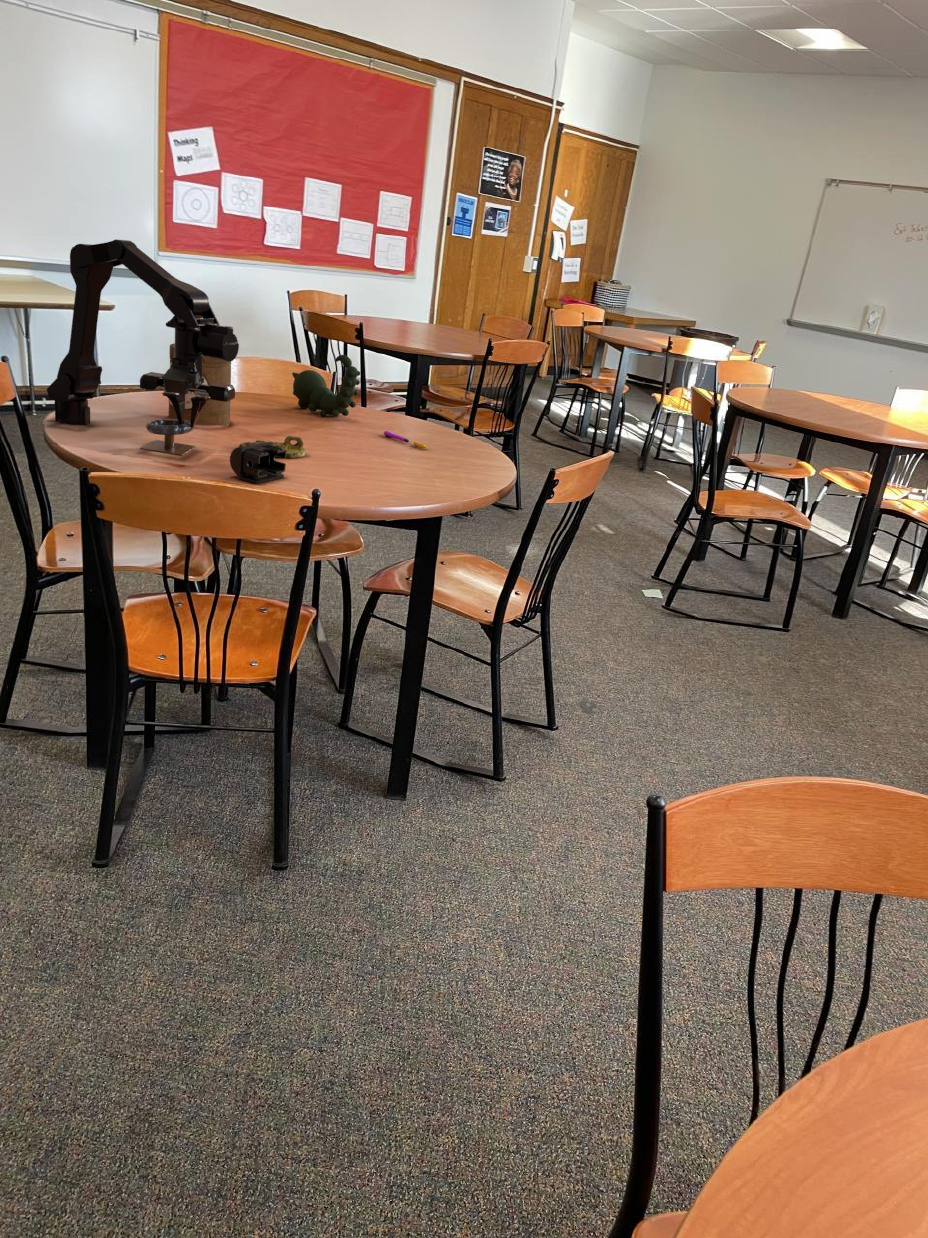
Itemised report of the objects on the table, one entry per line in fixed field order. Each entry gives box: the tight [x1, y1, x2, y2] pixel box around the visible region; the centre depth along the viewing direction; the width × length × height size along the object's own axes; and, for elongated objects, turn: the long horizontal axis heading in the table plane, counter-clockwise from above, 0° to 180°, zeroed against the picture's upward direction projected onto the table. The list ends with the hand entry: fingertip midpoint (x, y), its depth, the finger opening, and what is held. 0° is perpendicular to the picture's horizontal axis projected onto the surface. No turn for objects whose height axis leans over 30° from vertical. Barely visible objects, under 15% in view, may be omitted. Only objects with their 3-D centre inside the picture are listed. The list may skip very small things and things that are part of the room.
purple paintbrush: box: [383, 430, 429, 450], centre depth 239 cm, size 3×1×16 cm
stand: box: [140, 417, 197, 457], centre depth 194 cm, size 9×9×7 cm
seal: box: [238, 435, 306, 459], centre depth 207 cm, size 9×5×15 cm
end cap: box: [229, 441, 287, 485], centre depth 186 cm, size 10×7×7 cm
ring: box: [145, 418, 194, 436], centre depth 193 cm, size 10×10×2 cm
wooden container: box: [168, 343, 232, 427], centre depth 222 cm, size 15×15×22 cm
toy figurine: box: [291, 354, 361, 418], centre depth 254 cm, size 9×19×25 cm
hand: (187, 427), depth 193 cm, fingers closed on ring, 2 cm apart
